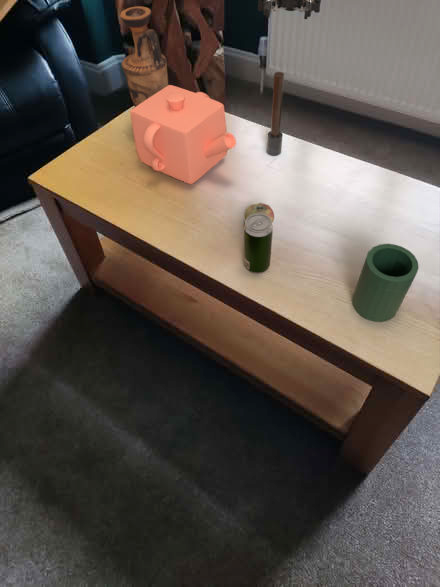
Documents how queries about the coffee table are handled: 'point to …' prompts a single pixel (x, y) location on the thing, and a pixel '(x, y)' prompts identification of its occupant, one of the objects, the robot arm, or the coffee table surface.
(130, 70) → the vase
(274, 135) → the brush
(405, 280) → the green hollow cylinder
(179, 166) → the teapot
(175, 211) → the coffee table surface
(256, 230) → the beer can
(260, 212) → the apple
